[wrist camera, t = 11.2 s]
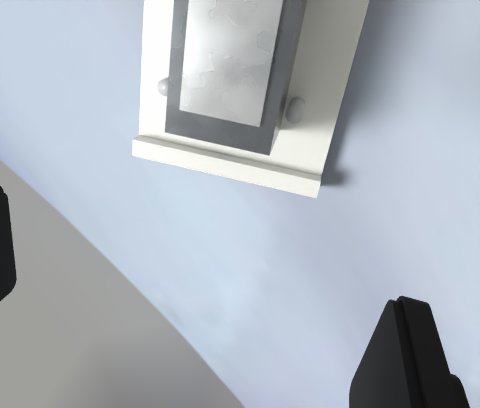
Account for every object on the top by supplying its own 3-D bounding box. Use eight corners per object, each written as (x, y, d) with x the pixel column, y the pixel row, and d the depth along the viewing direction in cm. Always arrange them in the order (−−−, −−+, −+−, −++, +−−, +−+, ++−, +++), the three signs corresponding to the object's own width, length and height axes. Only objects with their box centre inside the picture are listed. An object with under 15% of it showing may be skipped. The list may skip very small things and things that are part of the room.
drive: (320, -62, 21) (317, -79, 17) (279, 130, 26) (268, 156, 22) (211, -80, 22) (179, -101, 17) (191, 111, 27) (163, 133, 22)
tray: (405, -136, 20) (418, -161, 17) (317, 186, 29) (315, 208, 26) (158, -171, 22) (129, -199, 18) (143, 146, 30) (122, 163, 27)
